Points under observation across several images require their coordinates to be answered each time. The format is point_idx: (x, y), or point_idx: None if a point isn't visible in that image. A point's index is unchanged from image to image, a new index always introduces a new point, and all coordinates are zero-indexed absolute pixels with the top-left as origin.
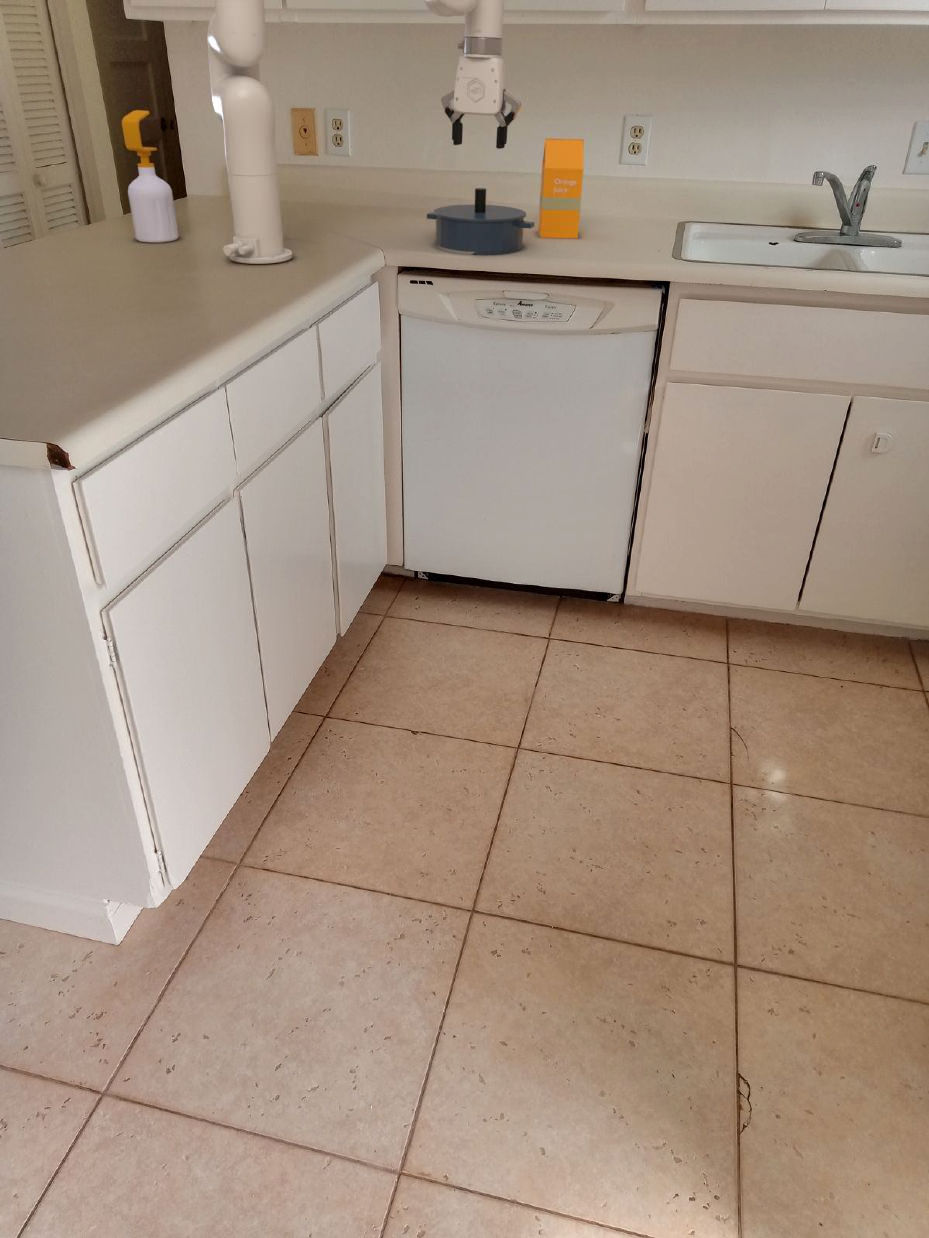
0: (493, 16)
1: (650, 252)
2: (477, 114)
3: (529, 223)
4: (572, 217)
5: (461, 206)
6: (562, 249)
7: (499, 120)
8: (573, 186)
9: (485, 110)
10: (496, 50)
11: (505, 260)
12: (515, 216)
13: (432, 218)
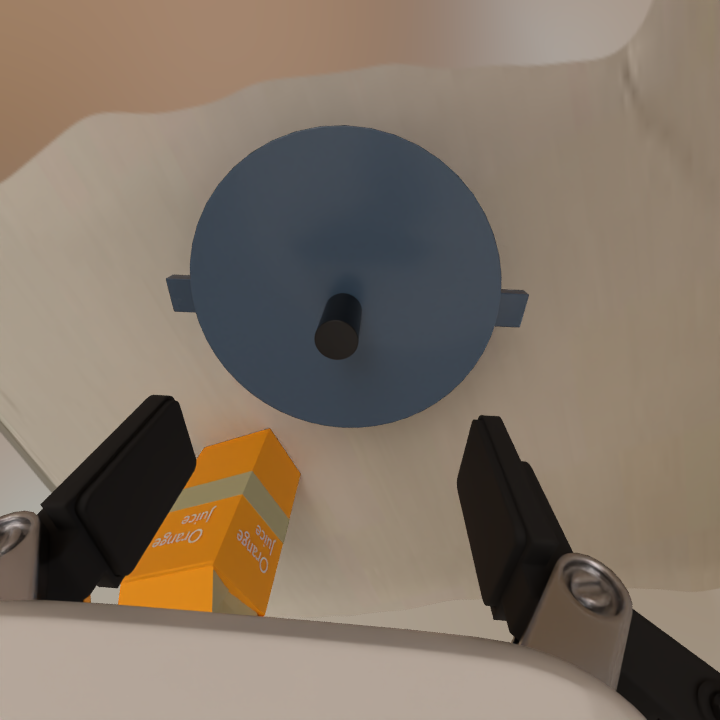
0: None
1: (10, 382)
2: (223, 618)
3: (169, 278)
4: (197, 475)
5: (431, 375)
6: (165, 335)
7: (10, 572)
8: (165, 535)
9: (19, 676)
10: None
11: (200, 113)
12: (203, 276)
13: (504, 289)
